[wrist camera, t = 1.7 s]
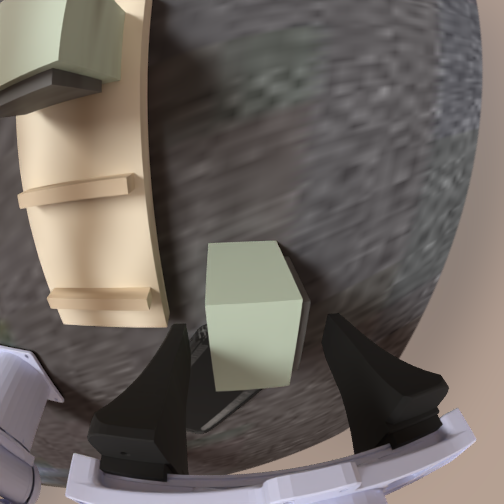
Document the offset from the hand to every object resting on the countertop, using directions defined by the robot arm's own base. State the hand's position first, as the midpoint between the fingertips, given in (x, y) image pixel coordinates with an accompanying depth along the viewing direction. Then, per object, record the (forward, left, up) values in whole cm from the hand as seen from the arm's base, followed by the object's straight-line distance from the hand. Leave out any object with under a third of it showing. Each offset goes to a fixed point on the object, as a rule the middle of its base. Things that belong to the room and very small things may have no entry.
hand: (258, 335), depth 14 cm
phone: (-4, -11, -5) cm, 13 cm away
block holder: (-9, +8, -5) cm, 13 cm away
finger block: (0, 0, -5) cm, 5 cm away
